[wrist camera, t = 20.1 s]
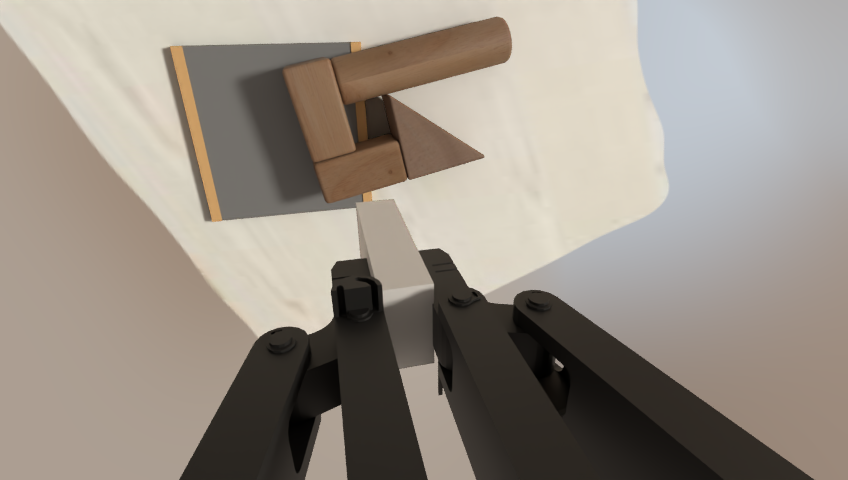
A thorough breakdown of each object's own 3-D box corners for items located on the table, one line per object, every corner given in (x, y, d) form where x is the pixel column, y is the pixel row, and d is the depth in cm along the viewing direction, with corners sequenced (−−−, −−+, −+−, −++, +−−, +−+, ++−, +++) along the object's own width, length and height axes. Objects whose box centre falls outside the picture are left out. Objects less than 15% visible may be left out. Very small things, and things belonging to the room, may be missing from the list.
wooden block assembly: (326, 206, 36) (525, 146, 39) (279, 69, 31) (510, 11, 34) (323, 192, 39) (507, 138, 42) (280, 67, 34) (491, 14, 37)
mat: (172, 46, 33) (169, 46, 32) (359, 42, 36) (360, 42, 35) (213, 218, 39) (212, 221, 38) (371, 203, 42) (372, 206, 41)
